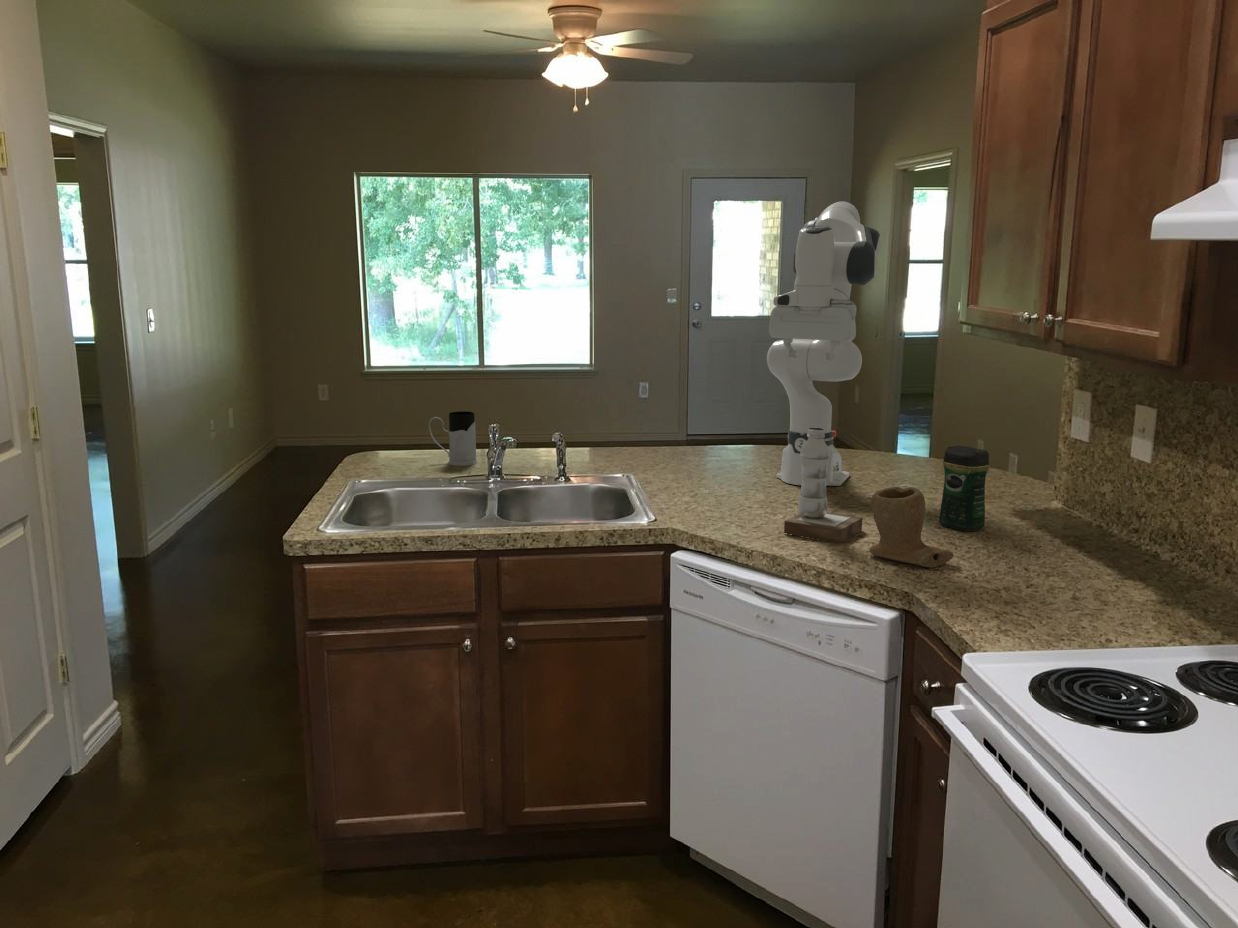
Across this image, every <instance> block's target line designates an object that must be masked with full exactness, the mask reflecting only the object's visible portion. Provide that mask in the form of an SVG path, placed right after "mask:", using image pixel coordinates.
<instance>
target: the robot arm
mask: <svg viewBox="0 0 1238 928" xmlns="http://www.w3.org/2000/svg"><path fill="white" fill-rule="evenodd" d="M797 237H798V238H797V240H796V241H797V242H796V249H795V252H794V253H793V273H794V274H795V280H794V283H793V290H791V291H789V292H786V293H782V294H780V295H776V296H775V297H774V298H773V299H772V301H773V302H772V303H773V305H774V307H773V308H772V310H771V312H770V317H769V324H768V325H769V326H768V332H769V335H770V337H771V338H774V339H779V340H775V341H774V342H773V343H772V344H771V345H770V347H769V348H768V351H767V354H766V364H767V368H768V369H769V372H770V373H771V374H772V375H773V376H774V377H775V378H776V379H777V380H779V382H780V383H781V384H782V386H783V388H784V390H785V392H786V395H787V397H788V401H789V402H788V403H789V413H790V414H789V417H790V418H789V421H790V422H789V429H788V431H787V432H788V433H787V446H786V447H784V448H783V450H782V457H781V467H780V472H777V473H776V477H775V478H778V479H780V480H781V481H782V482H783V483H787V484H789V485H790V484H791V485H795V486H801V485H802V465H801V456H800V451H801V448H802V446H803V445H804V444H805V442H806V441H807V440H808V437H807V434H808V428H823V429H825V433H824V435H825V438H823V440H824V442H825V443H826V445H827V446H828V448H829V452H830V456H829V462H828V467H827V476H826V487H827V486H830V487H831V486H837V487H838V486H839V487H840V486H842V485H843V483H845V481H846V480H847V479H849V476H850V472H848V471H846V470H842V456H841V453H840V452H839V451H838V450H837V449H836V447H835V445H834V438H836V436H837V431H836V430H832V419H833V418H832V416H833V406H832V405H833V404H832V403H831V401H830V399H829V398H828V397H826V396H825V395H823V394H821V393H820V392H819V391H817V390H816V388H815V385H814V384H813V381H818V382H820V381H821V382H833V383H834V382H836V383H837V382H843V381H850V380H853V379H854V378H855V377H856V376H857V375H858V374H859V373H860V371H861V369H862V364H863V356H862V353H861V350H860V348H859V347H858V345H857V344H855V343H854V342H853V340H854V339H855V338H856V336H857V335H856V334H857V325H856V317H857V305H856V303H855V302H854V301H852V300H851V299H850V297H851V293H852V285H855V286H865V285H867V284H868V283H870V282H871V281H872V280H873V279H874V277H875V275H876V274H877V269H878V264H879V263H878V262H879V261H878V257H879V256H880V253H881V249H882V240H881V235H880V231H878V230H877V229H876V228H873V227H870V226H867V225H863V224H862V223H861V217H860V213H859V211H858V209H857V207H855V205H854V204H852V203H850V202H848V201H837V202H834V203H831V204H830V205H828V206H827V207H826V208H825V209H823V211H822V212H821V213H820V215H819V216H818V217H815V219H814V220H809V221H807V222H806V223H804V224H803V227H802V228H801V229H800V230H799V232H798V236H797Z"/></svg>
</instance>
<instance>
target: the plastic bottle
mask: <svg viewBox="0 0 1238 928" xmlns="http://www.w3.org/2000/svg"><path fill="white" fill-rule="evenodd" d="M824 433H825V429H823V428H808V434H807V437H808V440H807V441H806V442H805V444H804V445H803V446H802V448H801V451H800V456H801V465H802V485H800V486H801V487H800V495H799V498H798V503H797V505H798V506H797V508H798V512H799V514H801V515H803V516H806V517H811V518H818V517H823V516H825V514H826V513H827V512H828V508H829V505H828V504H829V502H828V496H827V486H826V476H827V467H828V462H829V456H830V452H829V448H828V446H827V445H826V443H825V442H824V440H823V438H825V435H824Z"/></svg>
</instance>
